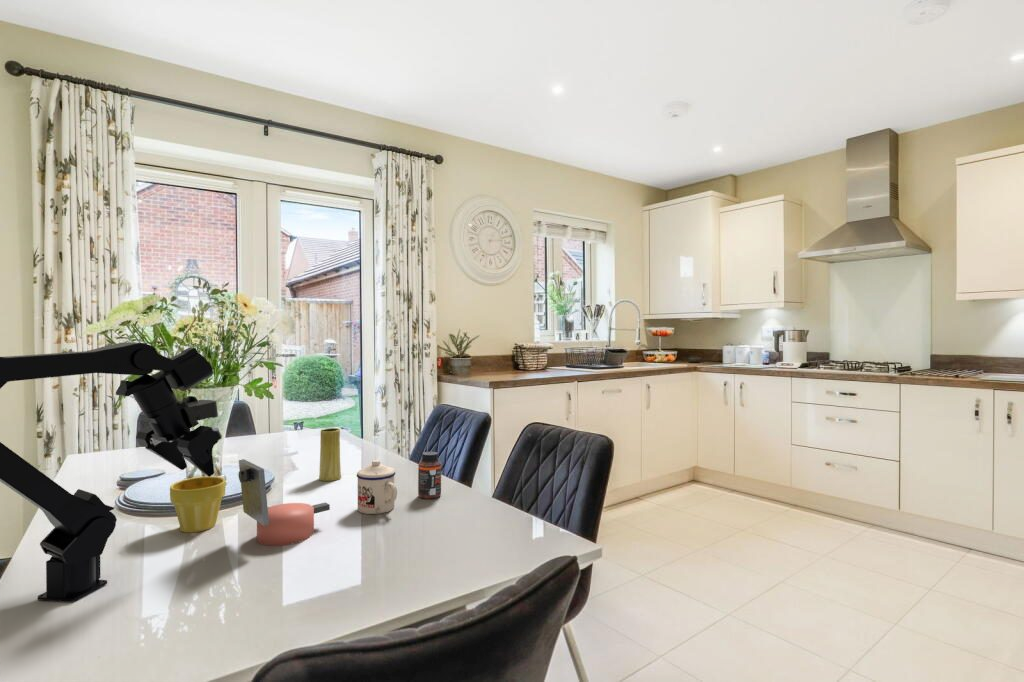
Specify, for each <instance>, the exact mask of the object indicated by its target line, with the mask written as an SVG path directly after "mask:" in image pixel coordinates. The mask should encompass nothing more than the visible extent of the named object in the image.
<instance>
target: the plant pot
mask: <svg viewBox="0 0 1024 682" xmlns="http://www.w3.org/2000/svg"><path fill="white" fill-rule="evenodd" d="M225 495H226V479H225V478H224V477H221V476H215V475H214V476H213V475H211V476H210V477H209V476H207V475H205V476H198V477H197V476H196V477H190V478H186V479H182V480H179V481H175V482H174V483H172V484H171V485H170V487H169V500H170V503H171V504H172V505H174V506H173V507H174V509H175V513H176V517H177V521H178V524H179V525H178V526H179V528H180V531H181V532H183V533H199V532H203V531H207V530H210V529H211V528H213V527H215V526H216V524H217V521H218V516H219V513H220V508H221V504H222V503H221V502H222V499H223V498H224V497H225Z"/></svg>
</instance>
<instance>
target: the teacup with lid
mask: <svg viewBox="0 0 1024 682" xmlns="http://www.w3.org/2000/svg"><path fill="white" fill-rule="evenodd" d="M395 476H396V471H395V469H394V468H393V467H390V466H386V465H385V464H383V463H381V461H380V460H378V459H374V460H372V461H371V464H369V465H367V466H365V467H364V468H361V469H359V470H358V471H357V473H356V477H357V510H358V511H359V512H360V513H362V514H365V515H378V514H384V513H388V512H390V511H392V510H393V509H394V507H395V501H396V500H397V496H398V489H397V486H396V485H395Z"/></svg>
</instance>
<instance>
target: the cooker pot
mask: <svg viewBox="0 0 1024 682" xmlns="http://www.w3.org/2000/svg"><path fill="white" fill-rule="evenodd" d="M330 506H331V505H330V503H327V502H322V503H317V504H313V505H311V504H308V503H305V502H304V503H303V502H290V503H289V502H287V503H280V504H276V505H271V506H267V507H268V518H269V524H268V525H265V526H263V525H262V524H260V523H259V522H258V521H256V541H257V543H259V544H261V545H264V546H270V547H272V546H273V547H275V546H277V547H279V546H287V545H292V543H294V544H297V543H300V542H299V541H301V542H303V541H305V539H306V540H308V539H309V538H311V537H312V536H313V535H314V533H315V532H314V531H315V518H314V517H315V514H318V513H323V512H326V511H330ZM310 536H311V537H310ZM307 538H308V539H307ZM302 540H303V541H302ZM296 542H297V543H296Z"/></svg>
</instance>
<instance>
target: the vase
mask: <svg viewBox="0 0 1024 682" xmlns="http://www.w3.org/2000/svg"><path fill="white" fill-rule="evenodd" d="M340 433H341V431H340V428H337V427H336V428H335V427H331V428H330V427H329V428H328V427H327V428H323V429H320V446H319V447H320V453H319V475H318V476H319V477H318V479H319V480H320V482H335V481H338V480H340V479H341V478H342V472H341V471H342V470H341V442H340V440H341V438H340Z"/></svg>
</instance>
